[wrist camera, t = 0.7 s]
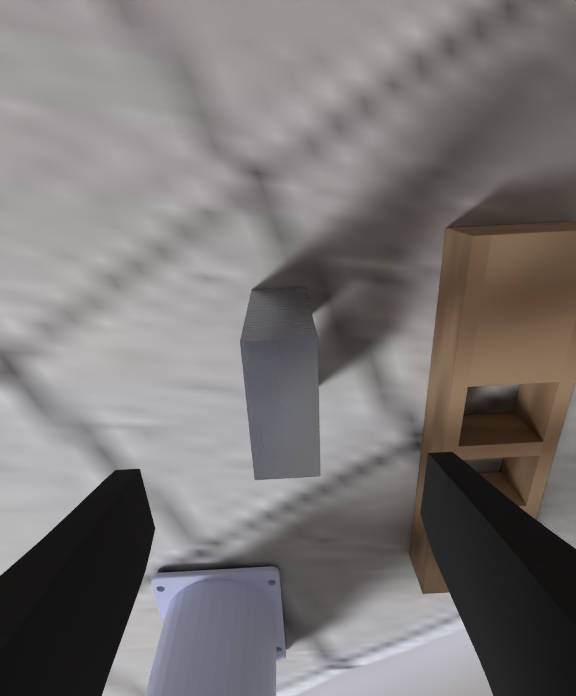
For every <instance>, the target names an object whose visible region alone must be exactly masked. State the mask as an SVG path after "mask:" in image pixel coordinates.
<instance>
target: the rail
mask: <svg viewBox="0 0 576 696" xmlns="http://www.w3.org/2000/svg"><path fill="white" fill-rule="evenodd" d="M575 381H576V222H574V221H566V222H547V223H529V224H510V225H491V226H472V227H453V228H446V232H445V241H444V250H443V259H442V268H441V277H440V286H439V295H438V304H437V313H436V322H435V330H434V339H433V348H432V357H431V366H430V375H429V384H428V393H427V402H426V411H425V420H424V429H423V438H422V447H421V456H420V465H419V473H418V482H417V491H416V500H415V509H414V518H413V527H412V536H411V545H410V554H409V556H410V558H411V561H412V564H413V567H414V570H415V573H416V576H417V578H418V581H419V584H420V587H421V590H422V593H423V594H428V593H446V592H449V590H448V588H447V585H446V583H445V581H444V579H443V576H442V574H441V572H440V570H439V567H438V565H437V563H436V560H435V558H434V556H433V553H432V550H431V547H430V544H429V541H428V537H427V534H426V531H425V528H424V524H423V521H422V518H421V514H420V512H421V504H422V496H423V488H424V479H425V471H426V463H427V455H428V453H435V452H453V453H455V454H456V455H457V456H458V457H460V458H461V459H462V460H469V459H487V458H504V459H503V463H502V468H501V472H489V473H479V474H480V475H481V476H482V477H484V478H485V479H486V480H487V481H488V482H490V483H491V484H492V485H493V486H494V487H496V488H497V489H498V490H499V491H500V492H502V493H503V494H504V495H505V496H507V497H508V498H509V499H510V500H512V501H513V502H514V503H515V504H517V505H518V506H519V507H520V508H522V509H523V510H524V511H525V512H527V513H528V514H529V515H530V516H532V517H533V518H534V519H536V518H537V514H538V511H539V507H540V504H541V500H542V497H543V493H544V489H545V486H546V482H547V479H548V475H549V472H550V468H551V465H552V461H553V458H554V454H555V451H556V447H557V444H558V440H559V437H560V433H561V430H562V426H563V423H564V419H565V416H566V412H567V409H568V405H569V402H570V398H571V395H572V391H573V388H574V384H575ZM511 384H520V386H519V390H518V395H517V400H516V404H515V409H514V412H510V413H492V414H473V415H463V414H464V408H465V401H466V395H467V389H468V387H475V386H493V385H511Z"/></svg>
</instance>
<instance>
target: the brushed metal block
mask: <svg viewBox="0 0 576 696" xmlns="http://www.w3.org/2000/svg"><path fill="white" fill-rule="evenodd" d="M240 345H241V355H242V364H243V373H244V383H245V392H246V402H247V411H248V421H249V430H250V439H251V449H252V458H253V468H254V477H255V480H264V479H282V478H300V477H318V476H320V432H319V377H318V336H317V332H316V328H315V325H314V321H313V317H312V313H311V309H310V305H309V301H308V297H307V293H306V289H305V287H295V288H276V289H257V290H251V295H250V299H249V304H248V308H247V313H246V317H245V322H244V326H243V331H242V335H241V340H240Z"/></svg>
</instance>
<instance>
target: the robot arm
mask: <svg viewBox="0 0 576 696" xmlns="http://www.w3.org/2000/svg"><path fill="white" fill-rule="evenodd" d="M420 514H421V518H422V521H423V524H424V528H425V531H426V534H427V537H428V541H429V544H430V547H431V550H432V553H433V556H434V558H435V560H436V563H437V565H438V567H439V570H440V572H441V574H442V576H443V579H444V581H445V583H446V585H447V588H448V590H449V592H450V594H451V597H452V599H453V601H454V603H455V606H456V608H457V610H458V612H459V615H460V617H461V619H462V621H463V624H464V626H465V628H466V630H467V633H468V635H469V637H470V639H471V641H472V644H473V646H474V648H475V651H476V653H477V655H478V657H479V660H480V662H481V665H482V667H483V670H484V672H485V675H486V677H487V680H488V682H489V685H490V688H491V691H492V693H493V696H576V549H575V548H574V547H572V546H571V545H569V544H568V543H567V542H565V541H564V540H562V539H561V538H560V537H558V536H557V535H556V534H554V533H553V532H551V531H550V530H549V529H547V528H546V527H545V526H544V525H542V524H541V523H540V522H538V521H537V520H536V519H534V518H533V517H532V516H530V515H529V514H528V513H527V512H525V511H524V510H523V509H522V508H520V507H519V506H518V505H517V504H515V503H514V502H513V501H512V500H510V499H509V498H508V497H507V496H505V495H504V494H503V493H502V492H500V491H499V490H498V489H497V488H496V487H494V486H493V485H492V484H491V483H490V482H488V481H487V480H486V479H485V478H484V477H482V476H481V475H480V474H479V473H478V472H476V471H475V470H474V469H473V468H472V467H470V466H469V465H468V464H467V463H466V462H464V461H463V460H462V459H461V458H460V457H458V456H457V455H456V454H455V453H453V452H435V453H428V455H427V463H426V471H425V479H424V488H423V496H422V504H421V512H420ZM154 531H155V526H154V522H153V518H152V515H151V511H150V507H149V503H148V499H147V495H146V491H145V487H144V484H143V480H142V476H141V472H140V469H128V470H115V471H114V472H113V473H112V474H111V475H110V476H108V477H107V478H106V479H105V480H104V481H103V482H102V483H101V484H100V485H99V486H98V487H97V488H96V489H95V490H94V491H93V492H92V493H91V494H90V495H88V496H87V497H86V498H85V499H84V500H83V501H82V502H81V503H80V504H79V505H78V506H77V507H76V508H75V509H74V510H73V511H72V512H71V513H70V514H69V515H68V516H66V517H65V518H64V519H63V520H62V521H61V522H60V523H59V524H58V525H57V526H56V527H55V528H54V529H53V530H52V531H50V532H49V533H48V534H47V535H46V536H45V537H44V538H43V539H42V540H41V541H40V542H39V543H37V544H36V545H35V546H34V547H33V548H32V549H31V550H29V551H28V552H27V553H26V554H25V555H24V556H23V557H21V558H20V559H19V560H18V561H17V562H16V563H15V564H13V565H12V566H11V567H10V568H9V569H8V570H7V571H5V572H4V573H3V574H2V575H1V576H0V696H102V693H103V690H104V687H105V684H106V681H107V678H108V675H109V672H110V669H111V667H112V664H113V661H114V658H115V655H116V653H117V650H118V647H119V644H120V641H121V639H122V636H123V633H124V630H125V627H126V625H127V622H128V619H129V616H130V614H131V611H132V608H133V605H134V602H135V599H136V597H137V594H138V591H139V588H140V585H141V582H142V579H143V576H144V573H145V570H146V566H147V562H148V558H149V554H150V550H151V545H152V541H153V536H154ZM151 584H152V587H153V591H154V594H155V598H156V601H157V605H158V608H159V612H160V616H161V619H162V623H163V627H162V631H161V635H160V639H159V642H158V646H157V650H156V654H155V658H154V662H153V666H152V670H151V674H150V678H149V682H148V686H147V690H146V694H145V696H276V662H280V661H283V660H284V659H285V658H286V647H285V635H284V623H283V611H282V599H281V587H280V575H279V570H278V569H277V568H276V567H271V566H270V567H253V568H235V569H217V570H200V571H182V572H165V573H157V574H155V575H154V576H153V578H152V581H151Z"/></svg>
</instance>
